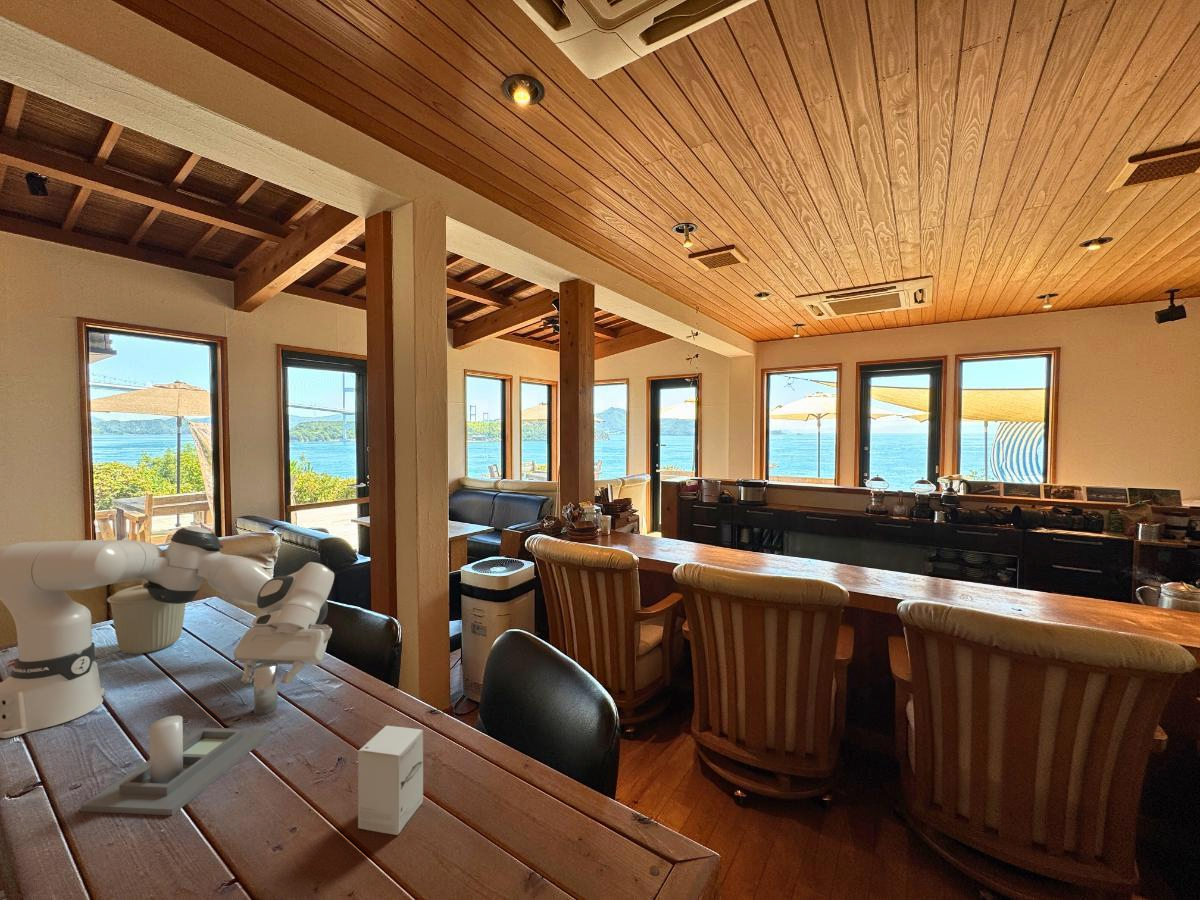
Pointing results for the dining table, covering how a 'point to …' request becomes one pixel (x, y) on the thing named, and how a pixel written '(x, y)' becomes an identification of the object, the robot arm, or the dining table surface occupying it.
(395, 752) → the supplement box
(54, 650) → the robot arm
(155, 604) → the canister
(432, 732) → the dining table surface
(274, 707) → the cylinder
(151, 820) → the dining table surface
